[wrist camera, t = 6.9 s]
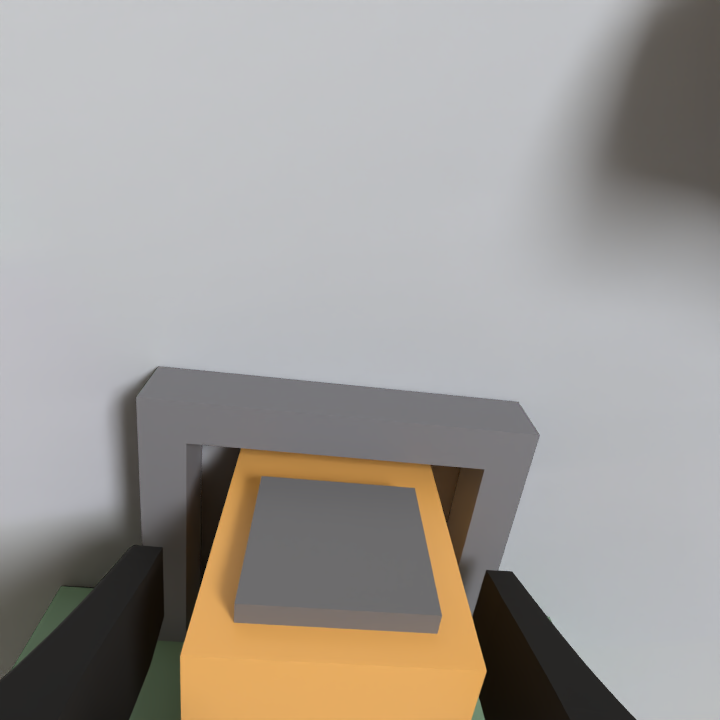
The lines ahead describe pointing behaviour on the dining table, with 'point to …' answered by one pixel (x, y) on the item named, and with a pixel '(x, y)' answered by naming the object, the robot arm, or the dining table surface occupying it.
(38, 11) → the dining table surface
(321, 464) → the chute block
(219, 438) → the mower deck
